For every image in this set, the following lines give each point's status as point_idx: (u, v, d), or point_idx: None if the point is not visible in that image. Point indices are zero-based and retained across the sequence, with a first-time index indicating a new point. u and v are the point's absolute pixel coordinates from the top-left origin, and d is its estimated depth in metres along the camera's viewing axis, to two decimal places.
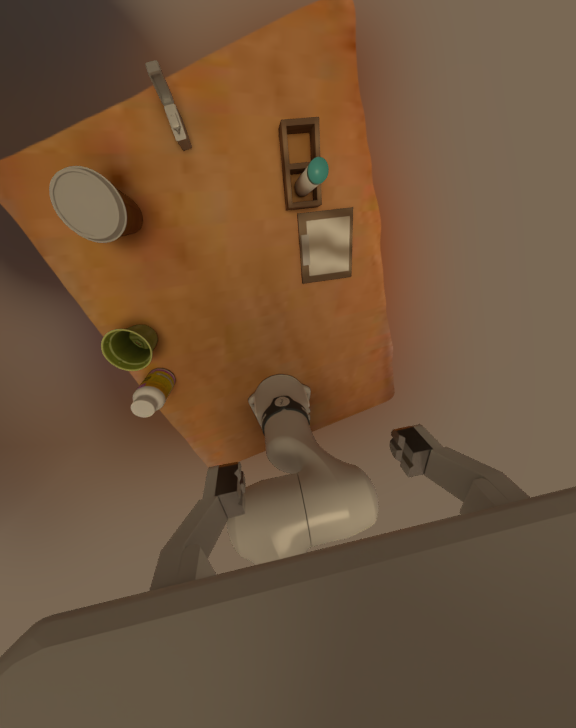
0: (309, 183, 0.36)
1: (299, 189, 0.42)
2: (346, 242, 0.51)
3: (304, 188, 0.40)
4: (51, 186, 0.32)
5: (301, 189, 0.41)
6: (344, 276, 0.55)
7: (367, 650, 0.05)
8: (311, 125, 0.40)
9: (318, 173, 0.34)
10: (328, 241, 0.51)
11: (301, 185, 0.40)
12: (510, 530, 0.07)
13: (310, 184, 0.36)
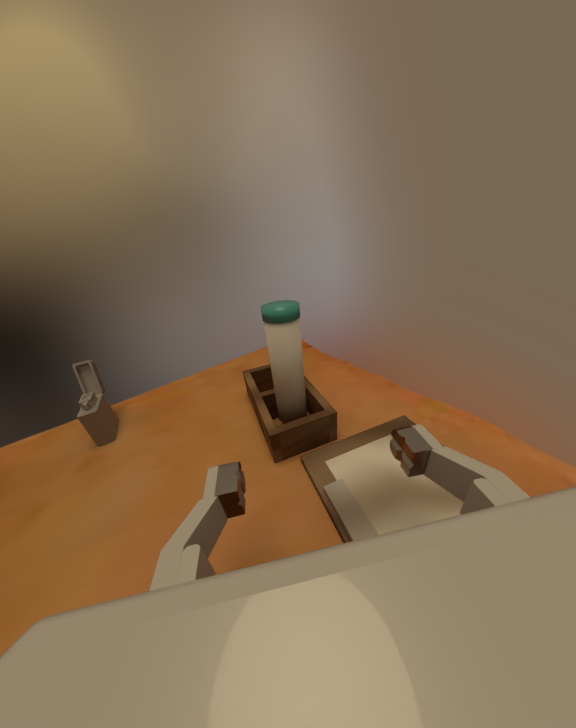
0: (275, 334, 0.18)
1: (280, 398, 0.21)
2: None
3: (281, 374, 0.20)
4: None
5: (281, 390, 0.21)
6: None
7: (367, 650, 0.05)
8: None
9: (281, 306, 0.18)
10: (406, 482, 0.18)
11: (275, 377, 0.20)
12: (510, 530, 0.07)
13: (278, 335, 0.18)
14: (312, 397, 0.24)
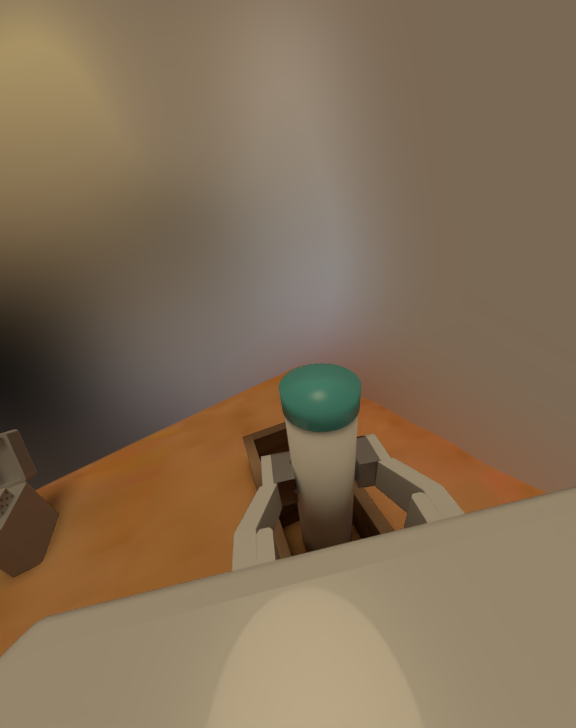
0: (311, 448, 0.09)
1: (310, 532, 0.12)
2: None
3: (316, 505, 0.10)
4: None
5: (313, 523, 0.11)
6: None
7: (367, 650, 0.05)
8: None
9: (323, 388, 0.08)
10: None
11: (304, 504, 0.11)
12: (510, 530, 0.07)
13: (317, 450, 0.08)
14: (358, 504, 0.15)
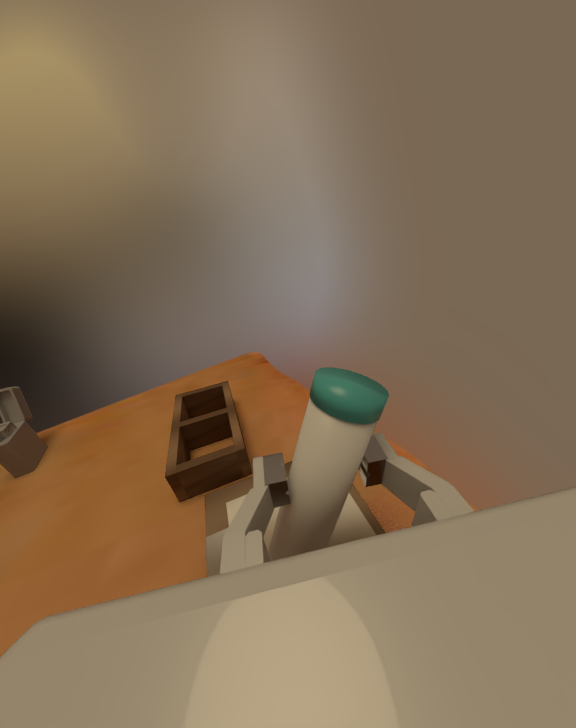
0: (331, 438, 0.09)
1: (287, 541, 0.11)
2: (352, 515, 0.17)
3: (308, 506, 0.10)
4: None
5: (295, 530, 0.11)
6: None
7: (367, 650, 0.05)
8: (220, 390, 0.30)
9: (355, 386, 0.09)
10: None
11: (294, 504, 0.11)
12: (510, 530, 0.07)
13: (336, 441, 0.09)
14: (231, 428, 0.23)
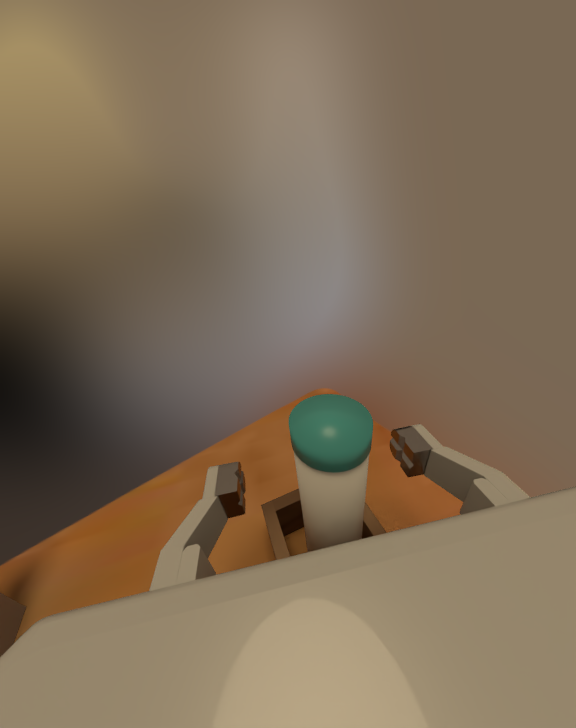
0: (320, 486, 0.08)
1: None
2: None
3: (324, 538, 0.10)
4: None
5: None
6: None
7: (367, 650, 0.05)
8: None
9: (333, 424, 0.08)
10: None
11: (311, 534, 0.11)
12: (510, 531, 0.07)
13: (326, 488, 0.08)
14: None
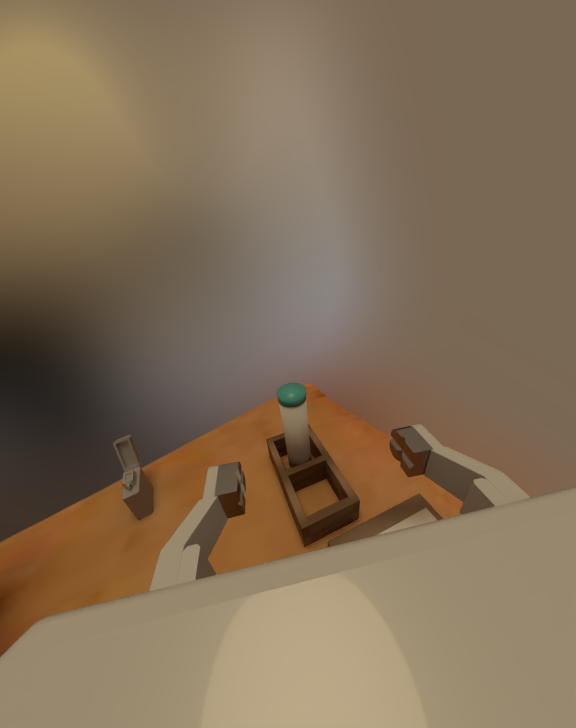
0: (287, 413, 0.24)
1: (290, 453, 0.28)
2: None
3: (291, 438, 0.26)
4: None
5: (291, 448, 0.27)
6: None
7: (367, 650, 0.05)
8: None
9: (292, 392, 0.24)
10: None
11: (287, 438, 0.27)
12: (510, 531, 0.07)
13: (289, 414, 0.24)
14: (335, 477, 0.27)
